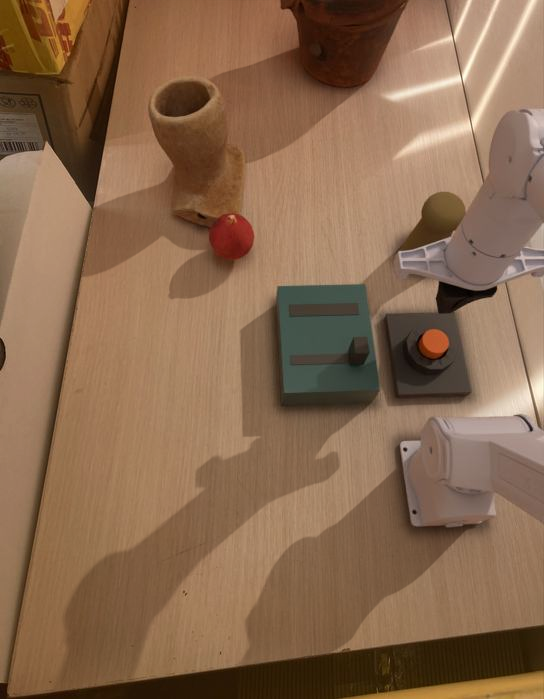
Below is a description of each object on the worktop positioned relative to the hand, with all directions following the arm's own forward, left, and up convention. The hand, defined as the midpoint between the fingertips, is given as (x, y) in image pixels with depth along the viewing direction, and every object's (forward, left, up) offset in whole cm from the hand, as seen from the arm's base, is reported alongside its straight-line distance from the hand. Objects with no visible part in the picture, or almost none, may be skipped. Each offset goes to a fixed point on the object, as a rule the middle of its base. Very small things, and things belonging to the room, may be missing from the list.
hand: (443, 305), depth 59 cm
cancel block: (-2, -1, -10) cm, 11 cm away
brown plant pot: (+52, +5, -11) cm, 54 cm away
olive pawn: (+13, -3, -11) cm, 17 cm away
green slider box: (-1, +12, -10) cm, 16 cm away
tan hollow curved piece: (+25, +27, -11) cm, 39 cm away
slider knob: (-4, +9, -6) cm, 11 cm away
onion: (+14, +23, -11) cm, 29 cm away
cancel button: (-2, -1, -8) cm, 8 cm away
